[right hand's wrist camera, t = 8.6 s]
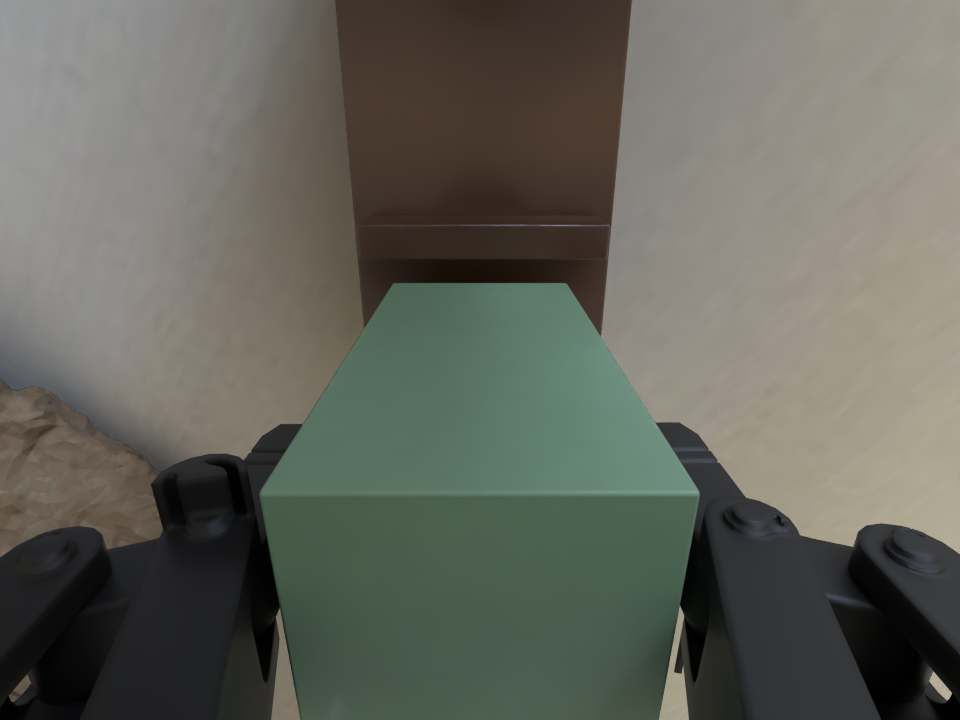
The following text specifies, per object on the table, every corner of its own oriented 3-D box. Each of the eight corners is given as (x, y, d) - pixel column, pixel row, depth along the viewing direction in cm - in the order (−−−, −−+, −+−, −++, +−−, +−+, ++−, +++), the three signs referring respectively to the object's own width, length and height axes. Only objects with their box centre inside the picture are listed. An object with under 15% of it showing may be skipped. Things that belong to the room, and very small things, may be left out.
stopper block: (557, 435, 17) (650, 777, 8) (402, 435, 17) (309, 777, 8) (567, 282, 15) (703, 492, 6) (392, 282, 15) (256, 492, 6)
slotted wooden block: (558, 357, 28) (602, 481, 18) (406, 357, 28) (363, 481, 18) (601, -354, 18) (755, -990, 8) (365, -353, 18) (216, -987, 8)
